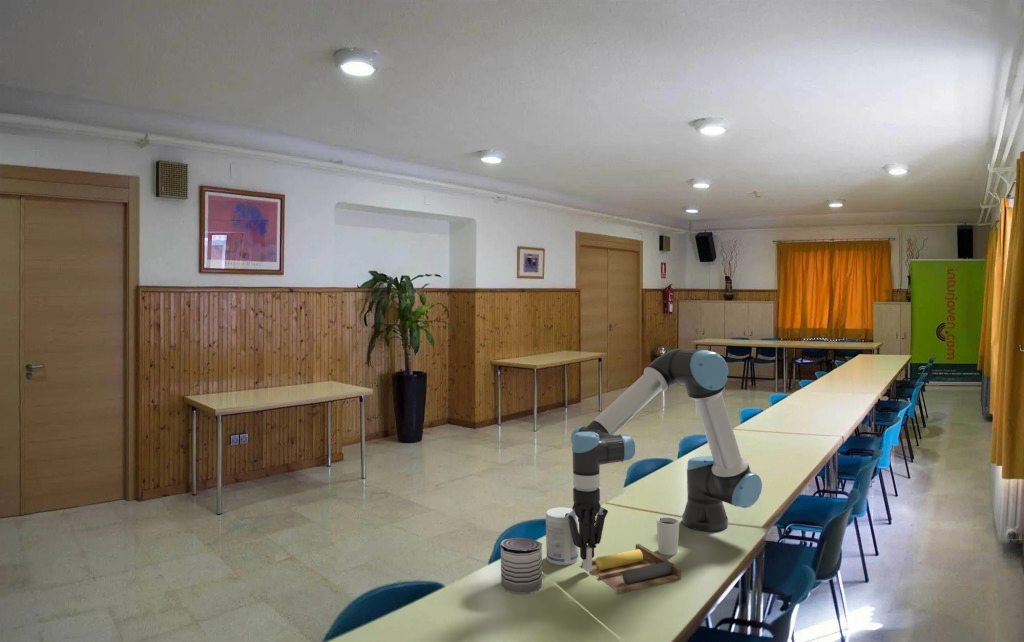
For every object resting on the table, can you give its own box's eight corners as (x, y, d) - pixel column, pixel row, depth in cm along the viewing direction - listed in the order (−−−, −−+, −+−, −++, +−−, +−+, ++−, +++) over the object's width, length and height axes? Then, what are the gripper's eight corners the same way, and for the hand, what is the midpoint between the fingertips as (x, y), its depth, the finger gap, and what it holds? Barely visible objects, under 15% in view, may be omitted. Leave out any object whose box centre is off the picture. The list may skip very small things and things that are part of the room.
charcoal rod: (663, 571, 185) (664, 559, 184) (671, 577, 182) (672, 565, 181) (622, 580, 179) (622, 568, 179) (629, 587, 176) (630, 574, 175)
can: (492, 583, 180) (492, 541, 179) (525, 572, 187) (524, 531, 186) (518, 598, 171) (517, 553, 170) (551, 586, 178) (550, 543, 177)
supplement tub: (570, 552, 201) (569, 505, 201) (583, 563, 192) (583, 514, 192) (541, 556, 198) (540, 509, 197) (553, 569, 189) (553, 519, 188)
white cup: (679, 557, 196) (679, 524, 195) (657, 556, 197) (656, 523, 197) (678, 549, 202) (678, 517, 202) (656, 547, 204) (656, 516, 203)
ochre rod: (640, 564, 192) (634, 554, 195) (644, 556, 190) (638, 546, 193) (600, 573, 186) (594, 562, 189) (603, 565, 184) (597, 554, 187)
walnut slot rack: (638, 554, 198) (638, 543, 198) (680, 580, 180) (680, 568, 180) (581, 566, 190) (581, 555, 190) (619, 594, 172) (619, 582, 172)
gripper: (599, 481, 190) (600, 560, 191) (559, 486, 185) (560, 568, 186) (613, 487, 183) (614, 570, 184) (572, 494, 178) (573, 578, 179)
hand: (587, 569), depth 185 cm, fingers closed
